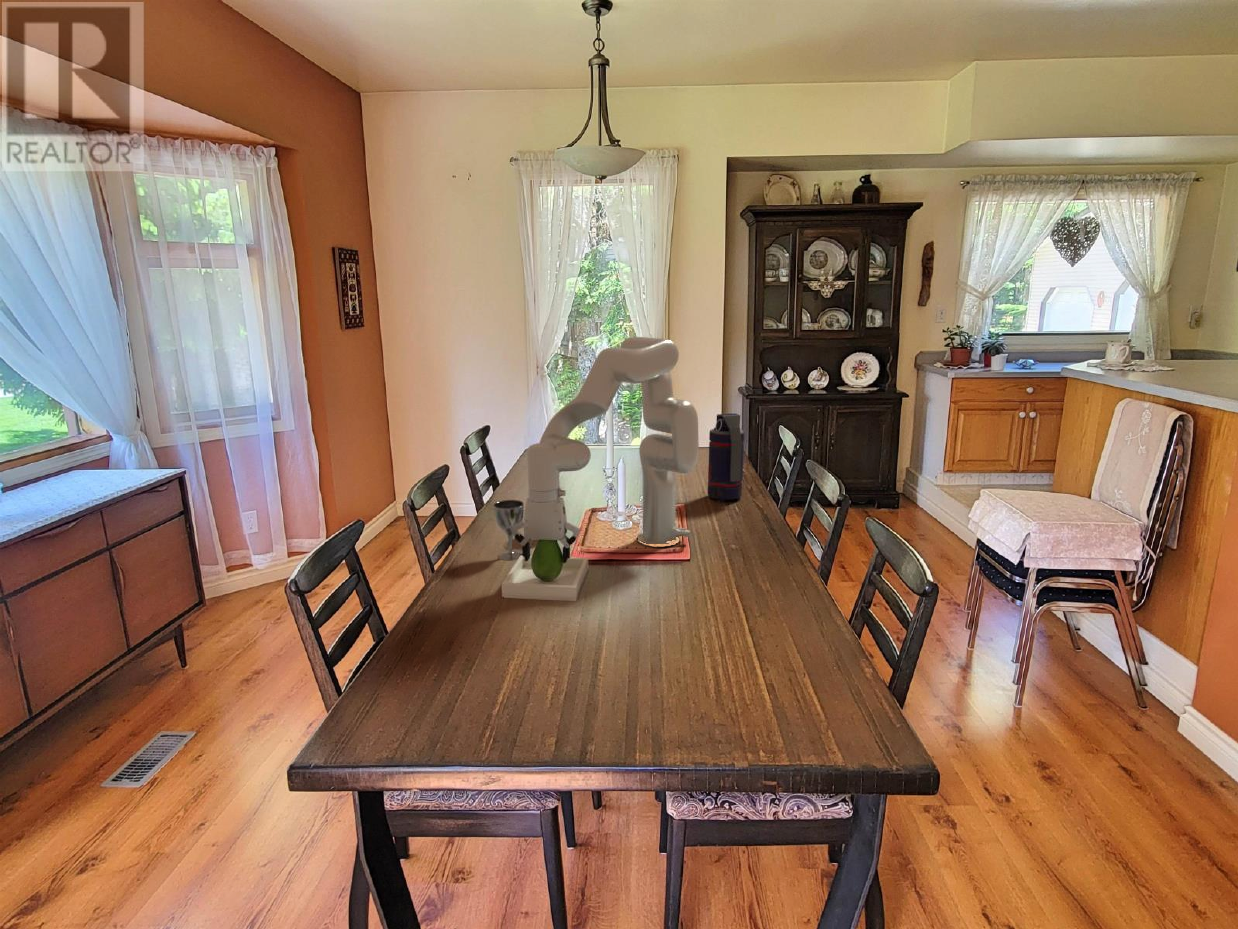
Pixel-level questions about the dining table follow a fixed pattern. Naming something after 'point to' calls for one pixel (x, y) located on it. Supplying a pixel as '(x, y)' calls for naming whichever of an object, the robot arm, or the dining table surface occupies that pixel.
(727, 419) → the grenade
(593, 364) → the robot arm
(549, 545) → the avocado
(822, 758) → the dining table surface
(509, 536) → the wine glass
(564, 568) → the tray
